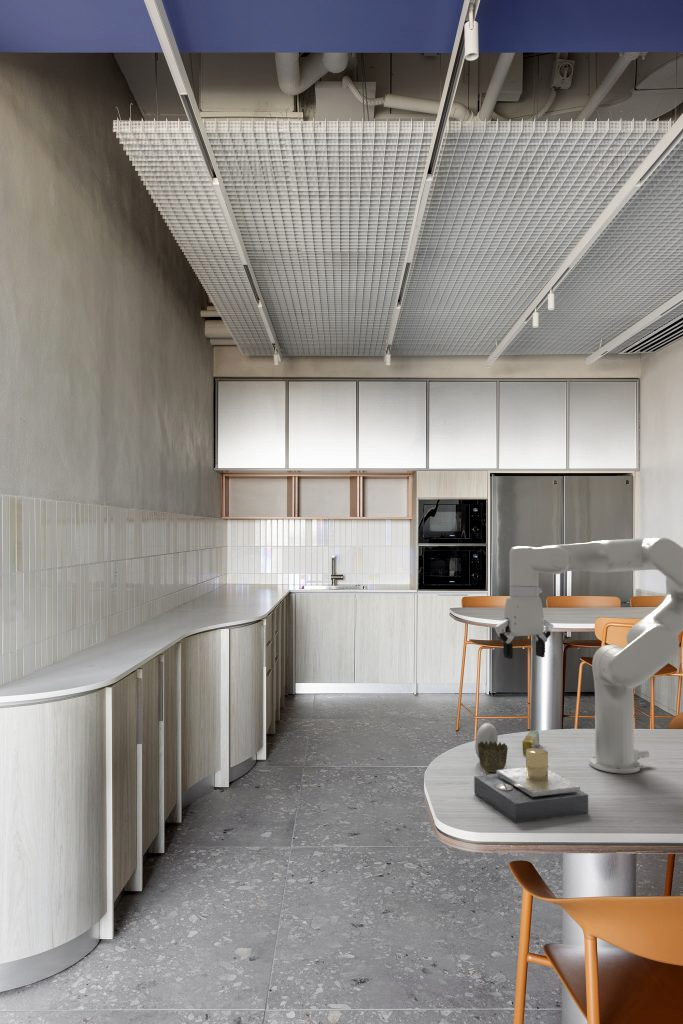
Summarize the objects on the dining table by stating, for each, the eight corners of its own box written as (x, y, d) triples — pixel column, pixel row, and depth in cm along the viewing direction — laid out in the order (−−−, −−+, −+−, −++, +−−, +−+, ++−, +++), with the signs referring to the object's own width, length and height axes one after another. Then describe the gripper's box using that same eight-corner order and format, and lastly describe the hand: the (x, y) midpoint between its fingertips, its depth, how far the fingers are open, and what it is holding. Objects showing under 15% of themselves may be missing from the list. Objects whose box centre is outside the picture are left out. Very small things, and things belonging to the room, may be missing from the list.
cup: (508, 783, 173) (508, 750, 173) (477, 780, 174) (477, 748, 174) (507, 773, 180) (507, 741, 180) (477, 771, 181) (477, 739, 182)
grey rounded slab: (485, 766, 185) (485, 728, 185) (472, 764, 187) (472, 726, 187) (499, 757, 193) (499, 720, 193) (487, 755, 195) (487, 718, 195)
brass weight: (540, 773, 163) (540, 747, 164) (552, 780, 159) (552, 753, 159) (522, 775, 162) (521, 749, 162) (533, 782, 157) (533, 755, 158)
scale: (540, 785, 171) (540, 766, 171) (588, 813, 154) (588, 792, 154) (474, 793, 165) (474, 774, 166) (515, 823, 148) (515, 801, 148)
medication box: (530, 744, 207) (529, 730, 207) (539, 745, 205) (539, 731, 206) (522, 755, 196) (522, 740, 196) (532, 756, 195) (532, 741, 195)
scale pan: (540, 769, 169) (540, 765, 169) (579, 791, 155) (579, 786, 155) (496, 774, 166) (496, 770, 166) (532, 796, 151) (532, 792, 151)
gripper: (543, 591, 195) (544, 653, 194) (488, 592, 189) (488, 656, 189) (560, 593, 187) (560, 658, 187) (502, 594, 182) (503, 661, 181)
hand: (524, 657), depth 188 cm, fingers open, 9 cm apart
